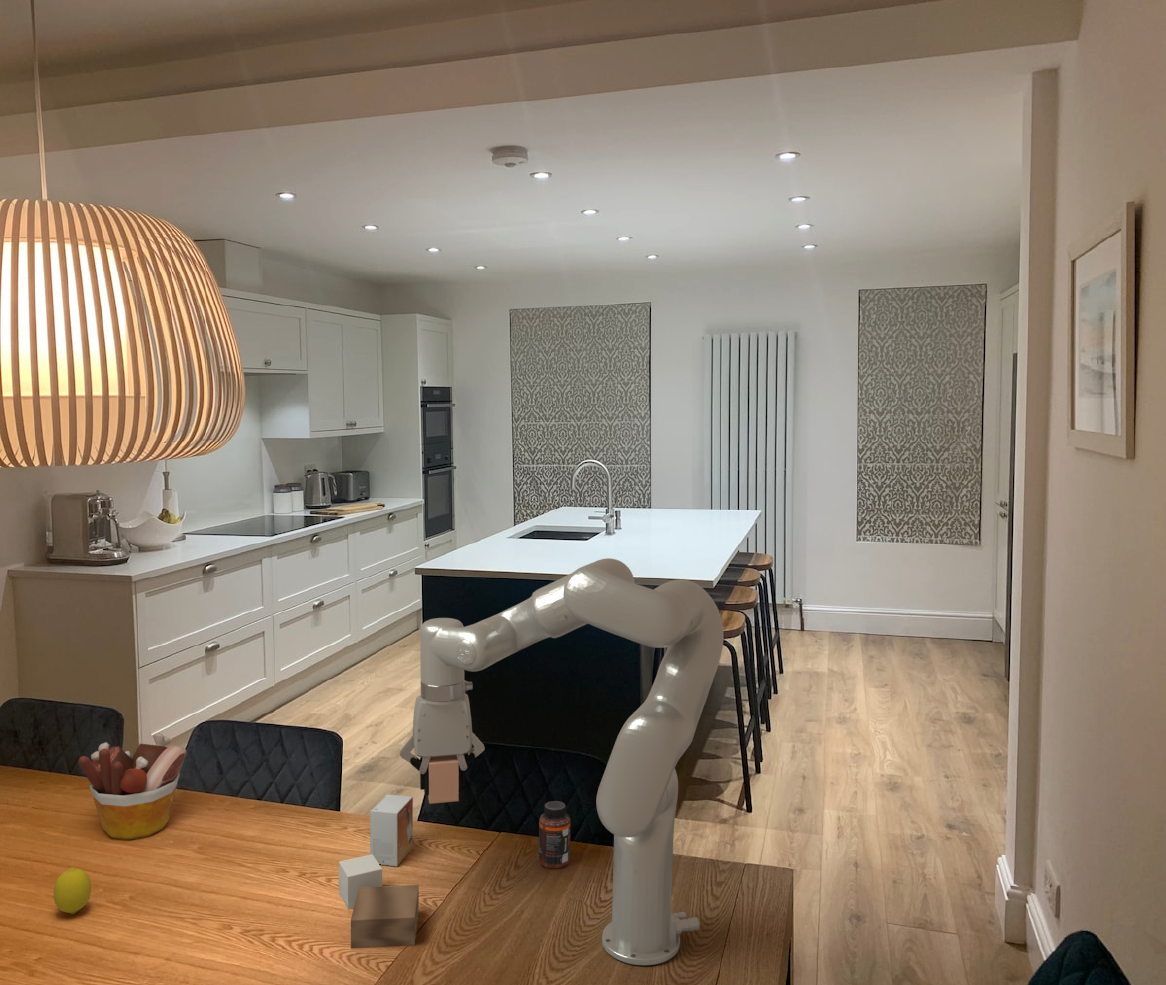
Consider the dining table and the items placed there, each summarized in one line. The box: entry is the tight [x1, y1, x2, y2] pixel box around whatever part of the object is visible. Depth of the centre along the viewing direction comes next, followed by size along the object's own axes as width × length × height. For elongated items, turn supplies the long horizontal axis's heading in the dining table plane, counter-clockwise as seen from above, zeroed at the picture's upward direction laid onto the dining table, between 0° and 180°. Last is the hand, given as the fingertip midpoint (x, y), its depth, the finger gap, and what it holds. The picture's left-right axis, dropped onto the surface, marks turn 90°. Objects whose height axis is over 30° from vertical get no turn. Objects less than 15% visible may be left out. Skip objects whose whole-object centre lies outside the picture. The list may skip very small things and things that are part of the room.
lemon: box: [53, 867, 92, 915], centre depth 153 cm, size 6×6×8 cm
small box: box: [369, 794, 414, 867], centre depth 175 cm, size 8×6×10 cm
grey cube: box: [338, 853, 383, 911], centre depth 160 cm, size 6×6×6 cm
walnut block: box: [350, 884, 420, 949], centre depth 150 cm, size 10×10×5 cm
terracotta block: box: [427, 755, 460, 805], centre depth 159 cm, size 5×5×7 cm
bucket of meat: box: [77, 732, 187, 841], centre depth 183 cm, size 20×16×20 cm
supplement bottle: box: [538, 800, 571, 869], centre depth 173 cm, size 6×6×11 cm
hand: (442, 790), depth 160 cm, fingers closed on terracotta block, 5 cm apart
